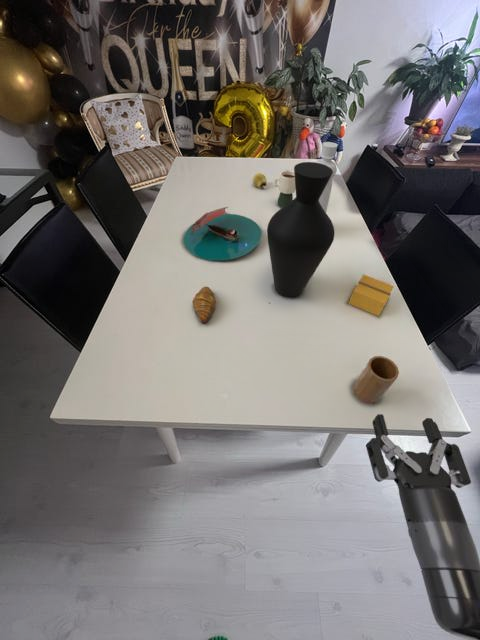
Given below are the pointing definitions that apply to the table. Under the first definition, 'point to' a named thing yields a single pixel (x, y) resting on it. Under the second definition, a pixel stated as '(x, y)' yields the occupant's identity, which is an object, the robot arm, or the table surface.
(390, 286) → the box
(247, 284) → the table surface
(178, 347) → the table surface
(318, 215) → the vase
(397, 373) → the cup
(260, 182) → the fruit
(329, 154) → the bottle
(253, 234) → the boat on round base
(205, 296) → the croissant
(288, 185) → the character mug
